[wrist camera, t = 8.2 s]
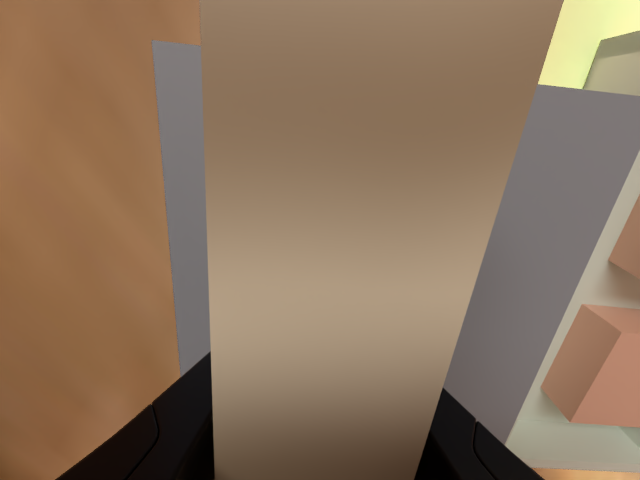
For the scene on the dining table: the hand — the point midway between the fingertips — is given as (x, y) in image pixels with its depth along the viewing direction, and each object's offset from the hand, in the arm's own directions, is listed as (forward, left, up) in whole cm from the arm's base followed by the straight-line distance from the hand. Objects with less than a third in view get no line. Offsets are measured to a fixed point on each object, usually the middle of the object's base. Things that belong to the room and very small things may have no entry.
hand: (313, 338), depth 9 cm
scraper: (0, 0, -1) cm, 1 cm away
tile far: (-3, -15, -3) cm, 15 cm away
